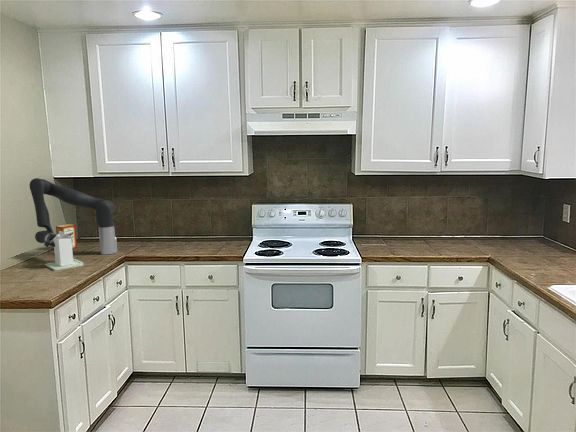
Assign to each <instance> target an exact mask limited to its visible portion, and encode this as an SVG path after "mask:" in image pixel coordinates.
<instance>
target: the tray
mask: <svg viewBox="0 0 576 432" xmlns="http://www.w3.org/2000/svg"><path fill="white" fill-rule="evenodd" d="M73 263H74V264H71V265H66V266H58V265H56V263H55V261H54V262H47V263H45V267H46V268H49V269H50V270H52V271H54V272H55V271H61V270H67V269H72V268H77V267H84V266H85V262H83V261H81V260H78V259H76V258H73Z"/></svg>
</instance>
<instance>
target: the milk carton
mask: <svg viewBox="0 0 576 432" xmlns="http://www.w3.org/2000/svg"><path fill="white" fill-rule="evenodd" d="M53 241H54V243H55V247H53V248H54V249H53V250H54V262H55V263H56V265H58V266H66V265H71V264H74V263H73V259H74V253H73V252H74V251H73V249H72V239H71V238H70V237H68V236H67V235H65V232H61V231H59V234H57V235H56V237H55V238H54V239H53Z"/></svg>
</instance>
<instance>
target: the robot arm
mask: <svg viewBox="0 0 576 432" xmlns="http://www.w3.org/2000/svg"><path fill="white" fill-rule="evenodd" d="M29 191H30V193H31V197H32V200H33V204H34V208H35V210H34V211H35V215H36V217H35V218H36V224H37V225H36V226H37V227H38V228H45V229H46V230H39V231H37V232H36V233H35V235H34V238H35V241H37V243H40V244H43V246H45V247H46V248H47V247H52V248H54V247H55V243H54V241H53V239H54V238H55V237H56V235H57V234H56V233H55V232H54V231H53V228H52V225H51V221H50V212H49V209H48V207H47V205H46V202H45V197H44V196H45V195H47V196H51V197H55V198H56V199H58V200H60V201H62V202H64V203H66V204H69V205H72V206H76V207H82V208H90V209H93V210H95V215H96V216H95V217H96V223H97V224H98V237H99V249H100V251H99V252H100V254H101V255H112V254H117V253H118V243H117V237H116V233H115V232H116V231H115V229H116V228H115V221H113V219H112V217H113V216H112V214H113V213H114V212H115V210H116V206H115V203H113V202H112V201H110V200H106V199H102V198H99V197H95V196H92V195H89V194H87V193H84V192H81V191H79V190H75V189H73V188H69V187H65V186H61V185H58V184H55V183H52V182H51V181H49V180H46V179H43V178H40V177H39V178H38V177H37V178H33V179H31V180H30V182H29ZM72 243H73V242H72Z"/></svg>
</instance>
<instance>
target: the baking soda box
mask: <svg viewBox="0 0 576 432" xmlns="http://www.w3.org/2000/svg"><path fill="white" fill-rule="evenodd" d="M55 230H56V231H55V232H56V233H55V234H59V231H61V232H65V235H67V236H68V237H70V238H71V239H72V242H73V243H72V250H73V249H77V247H78V243H77V231H76V224H72V223H71V224H70V223H69V224H63V225H62V224H61V225H56V226H55Z"/></svg>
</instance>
